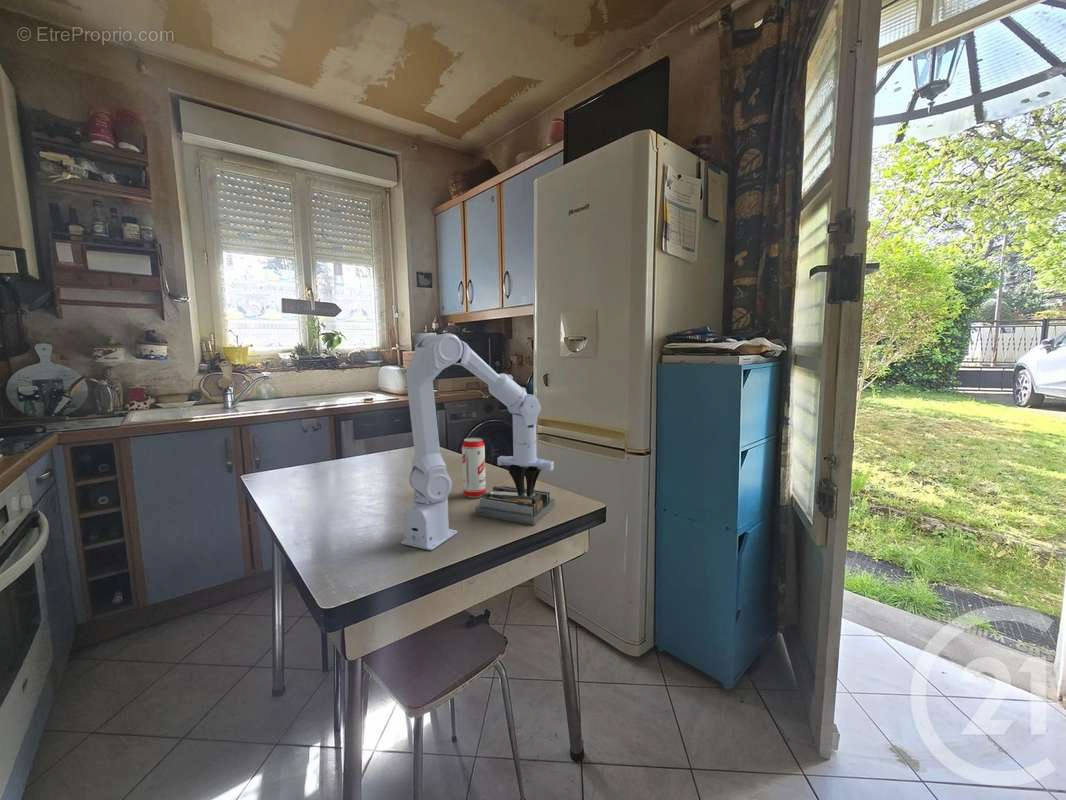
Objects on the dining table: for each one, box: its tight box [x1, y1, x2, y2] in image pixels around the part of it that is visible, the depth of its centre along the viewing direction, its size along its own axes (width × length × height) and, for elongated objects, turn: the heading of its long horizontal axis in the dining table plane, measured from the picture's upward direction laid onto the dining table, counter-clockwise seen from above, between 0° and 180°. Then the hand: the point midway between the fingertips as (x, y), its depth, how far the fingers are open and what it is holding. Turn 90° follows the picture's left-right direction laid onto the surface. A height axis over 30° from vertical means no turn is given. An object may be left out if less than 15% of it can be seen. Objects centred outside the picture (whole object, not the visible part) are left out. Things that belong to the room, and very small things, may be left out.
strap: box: [489, 490, 536, 500], centre depth 108 cm, size 4×12×1 cm, turn 66°
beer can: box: [461, 437, 487, 499], centre depth 119 cm, size 6×6×16 cm
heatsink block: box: [474, 485, 556, 526], centre depth 108 cm, size 13×16×4 cm
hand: (525, 495), depth 107 cm, fingers closed, pressing on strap
